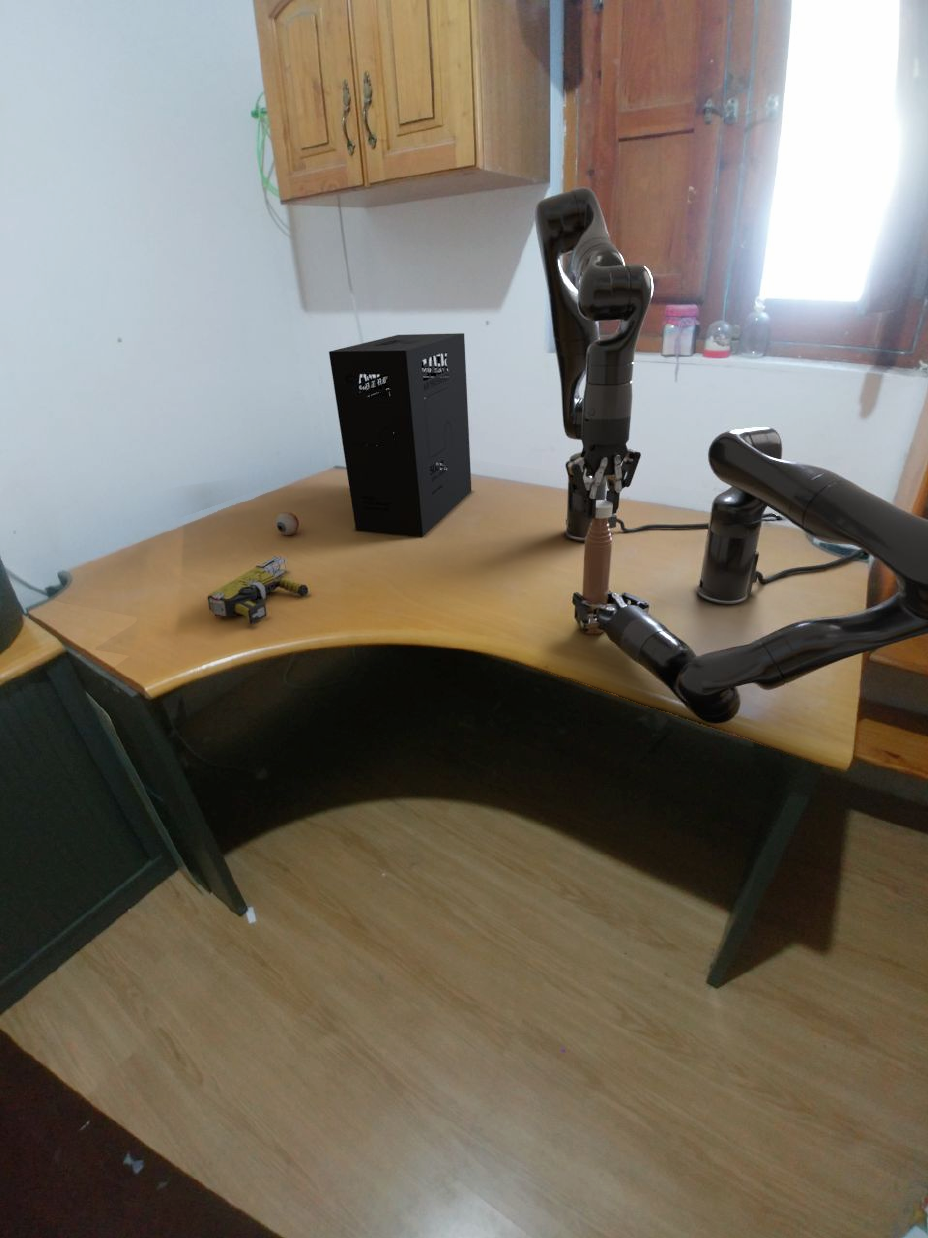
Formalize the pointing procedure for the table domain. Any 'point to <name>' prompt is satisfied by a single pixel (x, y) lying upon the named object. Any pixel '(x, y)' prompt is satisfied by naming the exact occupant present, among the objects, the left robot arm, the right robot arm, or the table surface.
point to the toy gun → (252, 591)
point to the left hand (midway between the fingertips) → (600, 514)
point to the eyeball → (287, 523)
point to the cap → (603, 509)
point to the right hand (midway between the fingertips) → (587, 593)
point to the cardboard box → (404, 430)
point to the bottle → (597, 564)
